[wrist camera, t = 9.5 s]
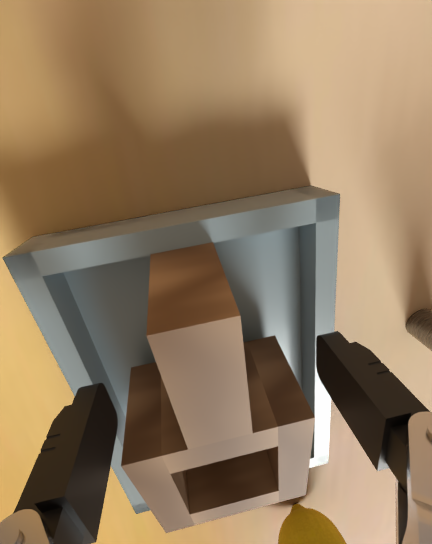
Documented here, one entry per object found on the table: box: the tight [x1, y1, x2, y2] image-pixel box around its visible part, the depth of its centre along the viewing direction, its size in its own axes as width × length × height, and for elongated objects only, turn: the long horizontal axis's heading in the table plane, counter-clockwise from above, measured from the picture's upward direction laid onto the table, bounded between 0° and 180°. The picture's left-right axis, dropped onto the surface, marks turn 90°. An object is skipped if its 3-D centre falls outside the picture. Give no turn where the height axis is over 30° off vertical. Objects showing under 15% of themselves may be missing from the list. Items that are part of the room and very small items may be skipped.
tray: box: [3, 186, 340, 514], centre depth 16 cm, size 13×18×2 cm
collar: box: [121, 242, 315, 533], centre depth 13 cm, size 8×14×4 cm, turn 7°
